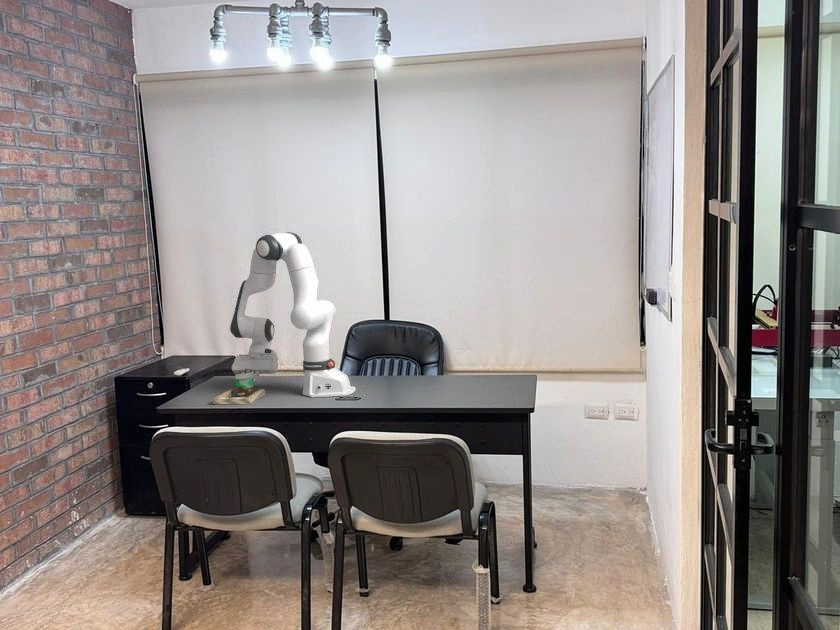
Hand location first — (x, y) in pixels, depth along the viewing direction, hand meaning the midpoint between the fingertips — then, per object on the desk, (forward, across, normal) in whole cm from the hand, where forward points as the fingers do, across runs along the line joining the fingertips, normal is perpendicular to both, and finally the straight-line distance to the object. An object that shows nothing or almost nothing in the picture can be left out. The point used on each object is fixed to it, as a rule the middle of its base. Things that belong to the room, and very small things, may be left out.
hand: (251, 381), depth 353 cm
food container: (+6, 0, +1) cm, 6 cm away
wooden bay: (+13, 0, -6) cm, 14 cm away
